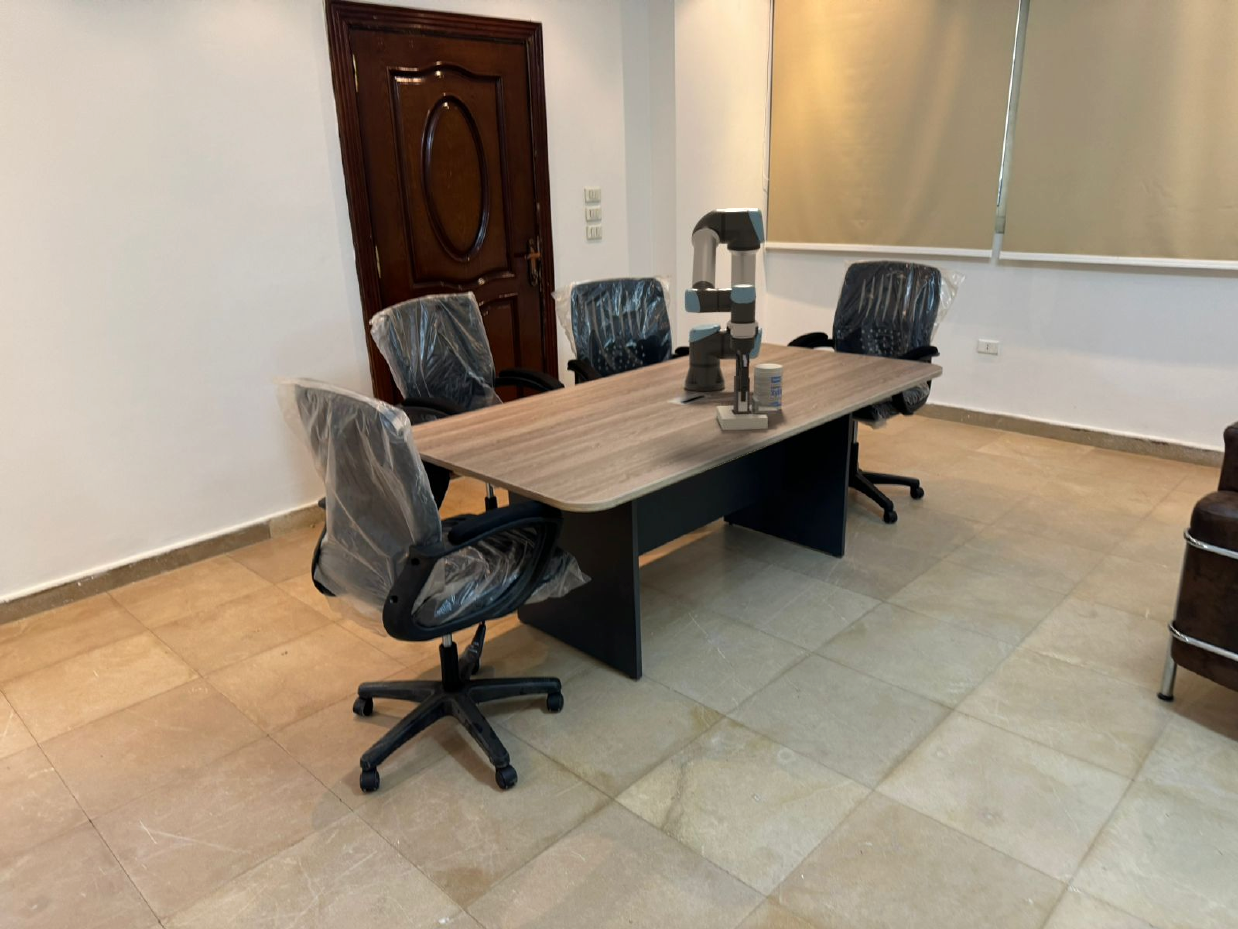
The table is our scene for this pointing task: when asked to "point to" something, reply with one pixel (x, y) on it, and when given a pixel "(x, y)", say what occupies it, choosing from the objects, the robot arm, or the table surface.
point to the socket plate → (740, 419)
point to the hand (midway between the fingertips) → (741, 408)
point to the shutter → (762, 407)
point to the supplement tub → (768, 384)
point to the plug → (736, 387)
